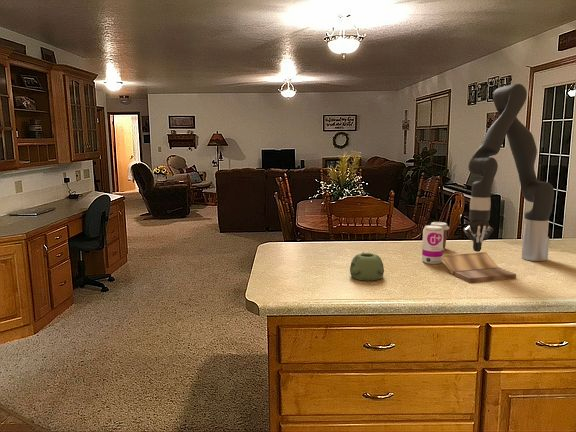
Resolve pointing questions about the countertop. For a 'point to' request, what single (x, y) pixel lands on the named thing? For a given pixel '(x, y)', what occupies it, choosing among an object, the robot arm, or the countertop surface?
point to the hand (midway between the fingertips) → (476, 251)
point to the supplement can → (432, 244)
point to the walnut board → (484, 274)
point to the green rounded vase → (367, 267)
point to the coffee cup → (443, 229)
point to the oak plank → (468, 261)
